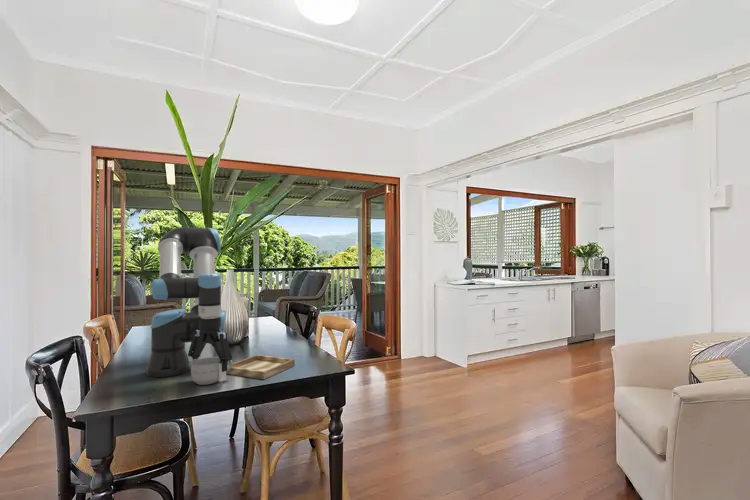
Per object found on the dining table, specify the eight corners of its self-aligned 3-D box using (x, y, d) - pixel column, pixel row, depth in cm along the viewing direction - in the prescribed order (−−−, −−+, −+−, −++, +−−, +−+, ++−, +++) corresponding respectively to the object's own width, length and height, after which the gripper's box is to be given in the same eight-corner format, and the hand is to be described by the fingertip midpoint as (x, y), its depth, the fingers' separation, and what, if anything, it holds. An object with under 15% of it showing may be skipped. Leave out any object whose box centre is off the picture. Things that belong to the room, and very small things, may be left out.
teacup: (188, 388, 136) (188, 365, 136) (192, 378, 146) (192, 356, 146) (231, 384, 140) (231, 362, 140) (233, 375, 150) (233, 353, 150)
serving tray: (223, 373, 153) (223, 366, 153) (256, 360, 171) (256, 354, 171) (264, 379, 146) (264, 372, 146) (294, 365, 163) (294, 359, 163)
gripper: (177, 316, 145) (177, 377, 145) (227, 321, 136) (227, 386, 136) (193, 313, 152) (193, 371, 152) (243, 317, 142) (243, 379, 142)
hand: (209, 378), depth 144 cm, fingers closed on teacup, 11 cm apart
